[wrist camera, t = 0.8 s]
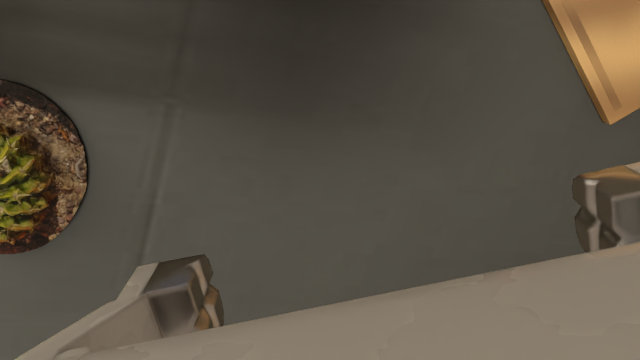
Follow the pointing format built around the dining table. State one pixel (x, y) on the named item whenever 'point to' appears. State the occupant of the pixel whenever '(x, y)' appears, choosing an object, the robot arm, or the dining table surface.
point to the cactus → (36, 169)
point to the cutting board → (603, 50)
